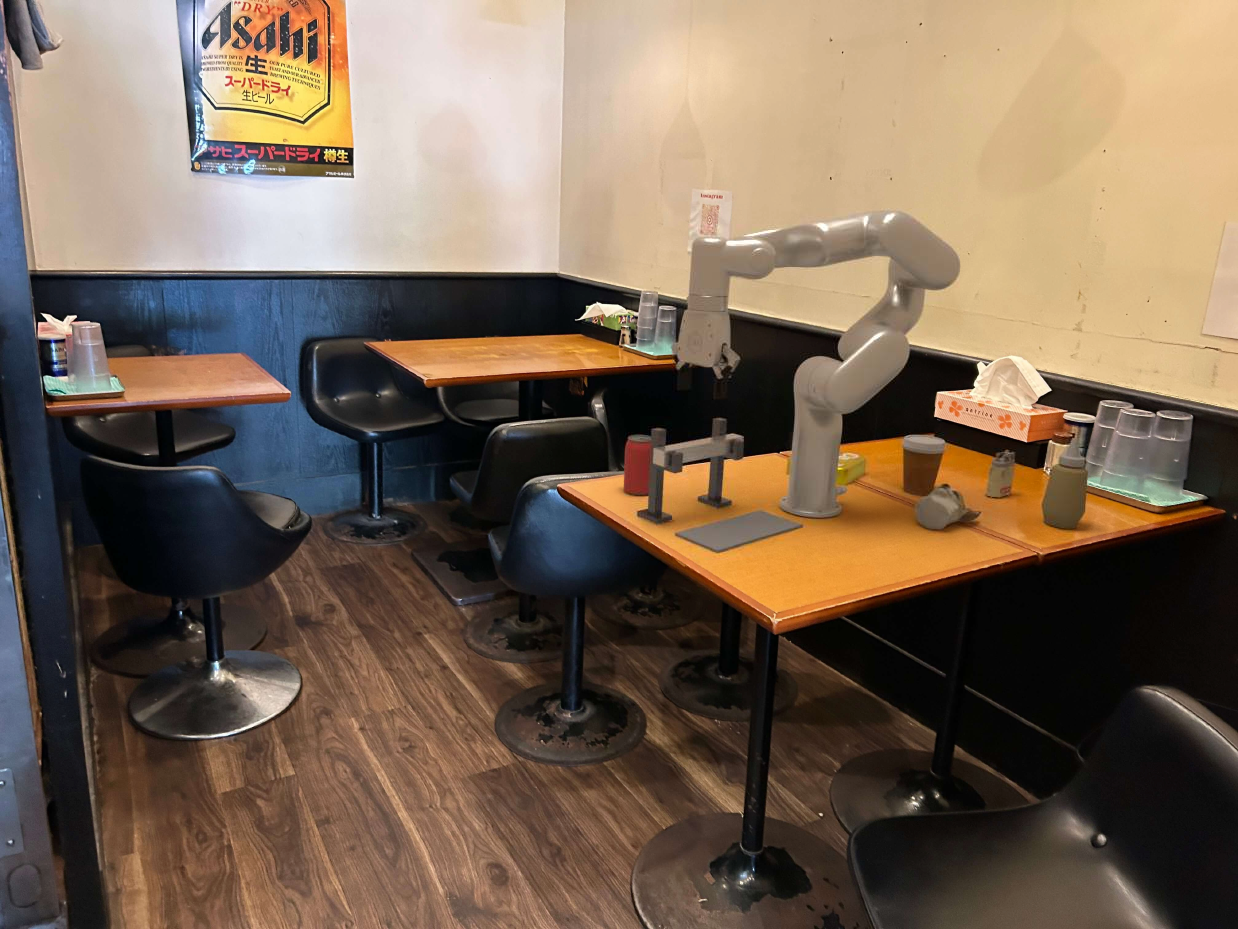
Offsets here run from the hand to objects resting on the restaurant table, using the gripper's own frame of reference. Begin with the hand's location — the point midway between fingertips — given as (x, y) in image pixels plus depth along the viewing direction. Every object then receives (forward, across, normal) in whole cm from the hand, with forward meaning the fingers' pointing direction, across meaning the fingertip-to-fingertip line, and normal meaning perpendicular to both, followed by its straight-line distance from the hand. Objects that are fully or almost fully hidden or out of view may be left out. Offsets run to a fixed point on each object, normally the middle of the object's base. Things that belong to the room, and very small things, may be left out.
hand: (701, 393), depth 171 cm
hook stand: (+25, -1, +1) cm, 25 cm away
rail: (+13, 0, 0) cm, 13 cm away
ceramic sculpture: (+24, +32, +38) cm, 56 cm away
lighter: (+24, +29, +67) cm, 77 cm away
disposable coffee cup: (+24, +17, +54) cm, 62 cm away
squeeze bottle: (+24, +47, +58) cm, 79 cm away
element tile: (+25, -4, +48) cm, 54 cm away
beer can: (+25, -18, +1) cm, 31 cm away
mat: (+24, +12, +1) cm, 27 cm away
